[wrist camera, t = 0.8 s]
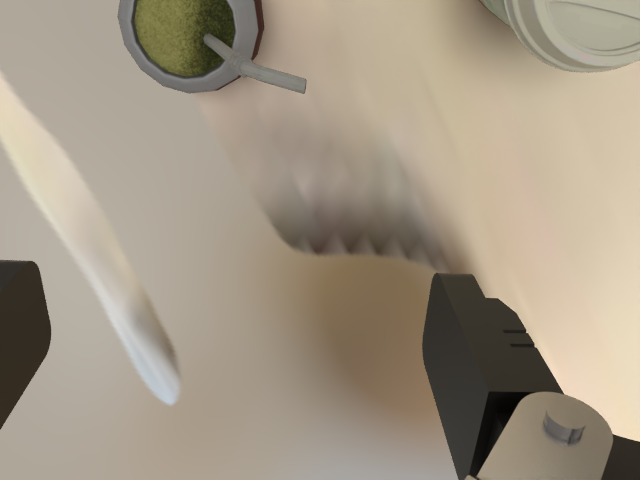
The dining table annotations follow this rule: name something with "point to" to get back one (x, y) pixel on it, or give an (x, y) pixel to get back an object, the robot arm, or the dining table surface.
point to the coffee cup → (575, 31)
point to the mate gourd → (198, 43)
